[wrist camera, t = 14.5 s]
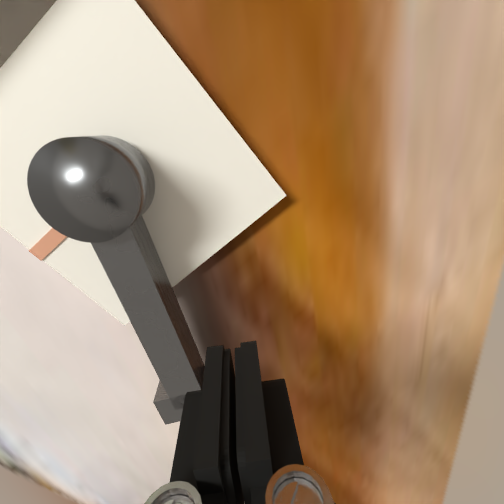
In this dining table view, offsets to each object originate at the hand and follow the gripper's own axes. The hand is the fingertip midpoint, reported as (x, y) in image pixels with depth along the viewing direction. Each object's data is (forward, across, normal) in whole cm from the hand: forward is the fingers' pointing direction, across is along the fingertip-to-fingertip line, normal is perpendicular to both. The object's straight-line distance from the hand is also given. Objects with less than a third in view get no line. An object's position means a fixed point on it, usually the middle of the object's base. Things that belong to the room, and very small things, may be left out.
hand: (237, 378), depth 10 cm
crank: (+8, +5, 0) cm, 9 cm away
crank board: (+9, +6, -6) cm, 12 cm away
